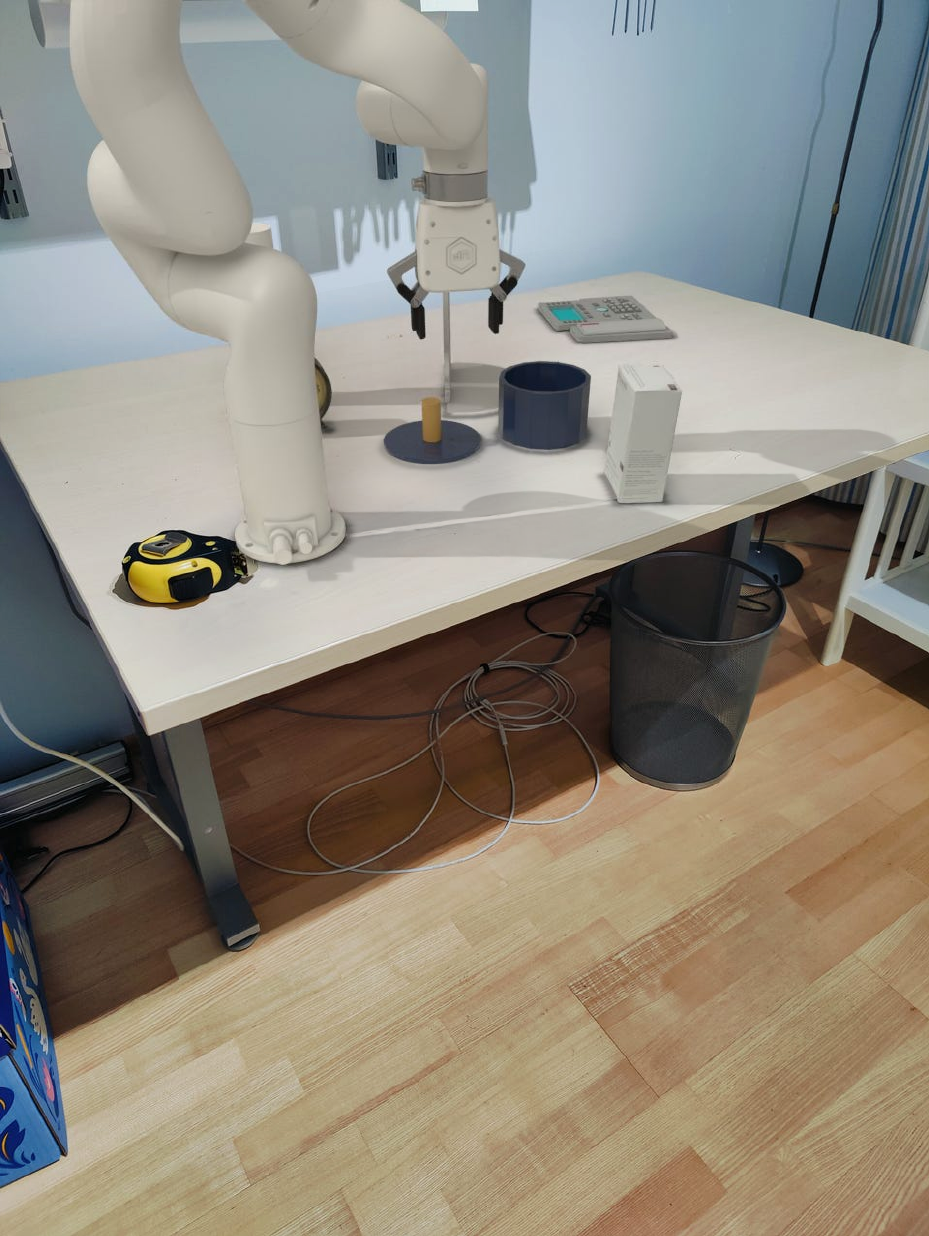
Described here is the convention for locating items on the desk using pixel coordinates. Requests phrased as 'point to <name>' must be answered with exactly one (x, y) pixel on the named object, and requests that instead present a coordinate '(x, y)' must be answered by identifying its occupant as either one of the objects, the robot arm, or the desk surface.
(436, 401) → the tin lid
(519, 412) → the tin
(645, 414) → the cosmetic box
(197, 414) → the desk surface
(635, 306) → the office telephone
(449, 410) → the grey metal bookend
